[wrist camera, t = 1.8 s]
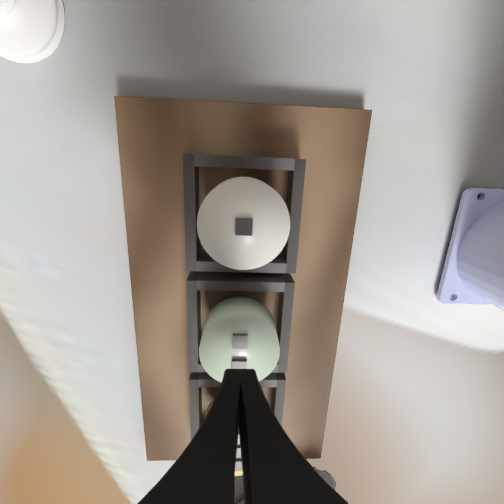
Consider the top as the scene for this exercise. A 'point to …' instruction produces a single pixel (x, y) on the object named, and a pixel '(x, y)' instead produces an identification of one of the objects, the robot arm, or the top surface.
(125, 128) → the button board
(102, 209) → the top surface
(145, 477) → the top surface
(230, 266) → the button one
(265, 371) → the button two
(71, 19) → the top surface
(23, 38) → the chess piece
